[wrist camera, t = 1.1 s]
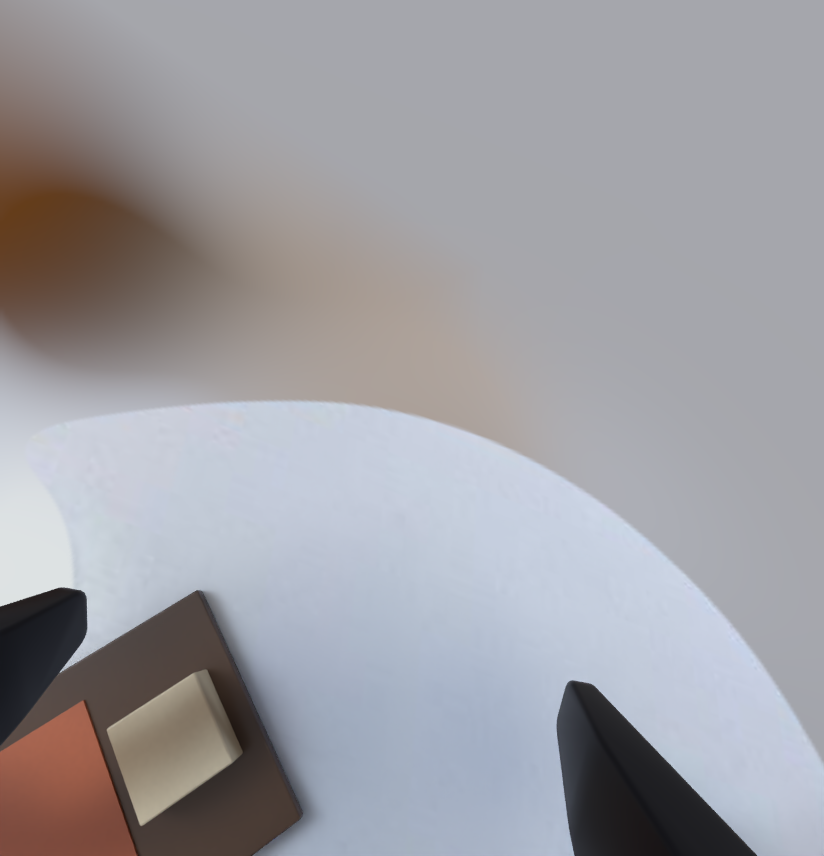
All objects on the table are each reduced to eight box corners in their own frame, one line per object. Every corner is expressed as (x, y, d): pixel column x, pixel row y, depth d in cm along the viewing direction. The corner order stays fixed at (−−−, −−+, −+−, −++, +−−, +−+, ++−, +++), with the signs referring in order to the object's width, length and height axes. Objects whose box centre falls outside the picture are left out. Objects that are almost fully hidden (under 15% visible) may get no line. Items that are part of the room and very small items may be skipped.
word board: (303, 813, 21) (293, 834, 19) (-211, 1199, 16) (-294, 1279, 14) (201, 589, 24) (184, 588, 22) (-250, 862, 20) (-322, 890, 18)
